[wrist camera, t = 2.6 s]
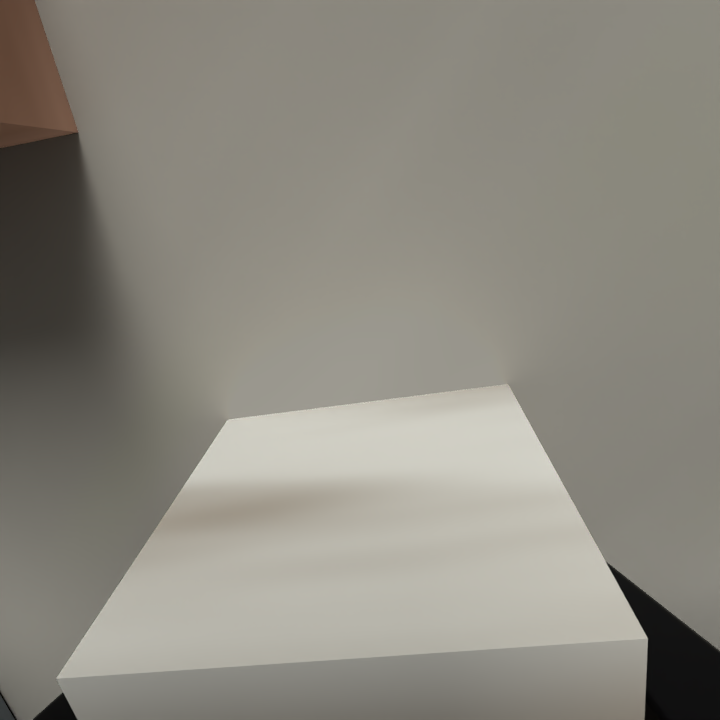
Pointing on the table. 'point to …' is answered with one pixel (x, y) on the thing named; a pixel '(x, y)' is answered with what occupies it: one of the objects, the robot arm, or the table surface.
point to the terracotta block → (29, 79)
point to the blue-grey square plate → (5, 711)
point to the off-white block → (368, 580)
